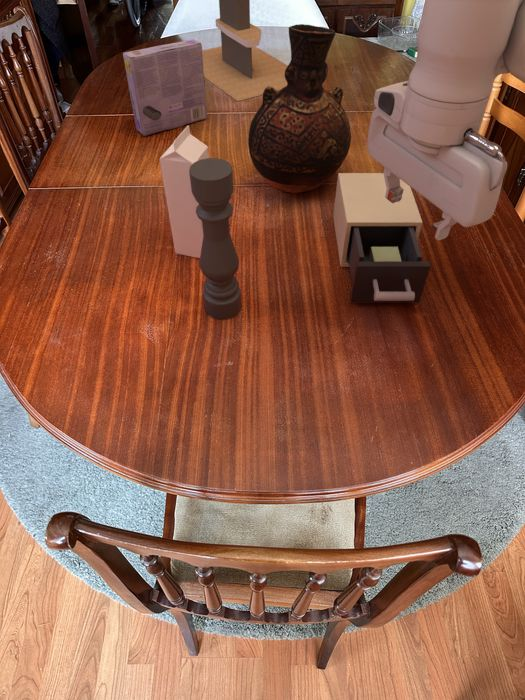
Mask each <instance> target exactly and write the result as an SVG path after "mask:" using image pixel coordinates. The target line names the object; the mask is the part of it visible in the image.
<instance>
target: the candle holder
mask: <svg viewBox="0 0 525 700" xmlns="http://www.w3.org/2000/svg"><path fill="white" fill-rule="evenodd" d="M233 170H234V169H233V165H232V164H231V163H230V162H229V161H228V160H226V159H223V158H218V157H209V158H207V159H201V160H199V161H197V162H194V163H193V164H192V165H191V166H190V169H189V175H190V183H191V191H192V194H193V196H194V198H195V199H196V201H197V202H198V204H199V205H198V206H197V207H196V214H197V216H198V218H199V219H200V220H202V227H203V242H202V249H201V255H200V258H199V261H198V265H199V266H198V267H199V269H200V270H201V273H202V275H203V276H204V277H205V278H206V279H205V281H204V282H203V290H202V298H203V306H204V310H205V313H206V315H208V317H210V318H212V319H214V320H215V319H216V320H229V319H232V318H234V317H236V316H237V315H239V313H240V312H241V310H242V292H241V288H240V286H239V285H240V283H239V281H238V279H237V277H236V276H235V275H236V273H237V272H238V270H239V267H240V266H239V265H240V258H239V256H238V253H237V250H236V247H235V244H234V242H233V239H232V236H231V232H230V218H231V217H232V216H233V213H234V212H233V211H234V207H233V205H232V203H230V200H231V199H232V196H233V194H234V171H233Z"/></svg>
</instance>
